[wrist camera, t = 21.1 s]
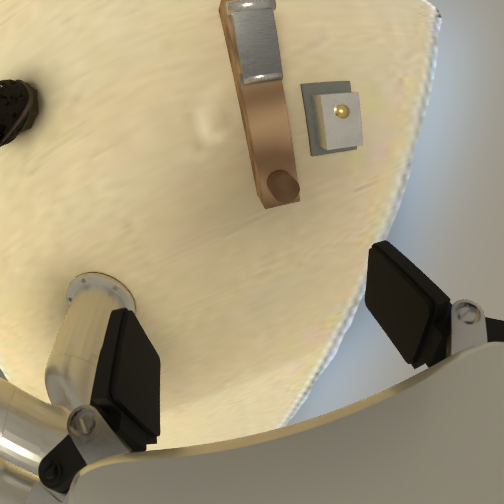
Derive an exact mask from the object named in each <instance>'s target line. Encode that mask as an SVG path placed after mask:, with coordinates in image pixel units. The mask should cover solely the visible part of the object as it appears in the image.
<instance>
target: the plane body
mask: <svg viewBox="0 0 504 504" xmlns="http://www.w3.org/2000/svg"><path fill="white" fill-rule="evenodd" d="M227 1H234V0H221V3H220V7H219V13H220V17H221V21H222V26H223V30H224V35H225V39H226V44H227V48H228V53H229V58H230V62H231V67H232V71H233V76H234V81H235V86H236V90H237V95H238V100H239V105H240V109H241V114H242V119H243V124H244V129H245V134H246V139H247V144H248V149H249V154H250V159H251V164H252V169H253V174H254V179H255V184H256V189H257V194H258V197H259V198H260V200H261V202H262V204H263V206H264V208H265V209H268V208H272V207H277V206H281V205H285V204H290V203H294V202H298V201H300V197H299V191H300V187H299V184H298V181H297V173H296V166H295V159H294V152H293V145H292V139H291V132H290V126H289V120H288V114H287V108H286V102H285V96H284V91H283V85H282V79H275V80H268V81H261V82H255V83H249V84H244V83H243V79H242V73H241V67H240V62H239V56H238V51H237V45H236V40H235V34H234V29H233V24H232V18H231V15H228V14H227V11H226V2H227Z"/></svg>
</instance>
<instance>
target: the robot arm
mask: <svg viewBox="0 0 504 504" xmlns="http://www.w3.org/2000/svg"><path fill="white" fill-rule="evenodd" d="M67 302H68V306H69V309H68V311H67V313H66V316H65V318H64V321H63V323H62V325H61V328H60V330H59V333H58V335H57V338H56V341H55V343H54V346H53V349H52V351H51V354H50V357H49V360H48V363H47V366H46V369H45V386H46V390H47V393H48V396H49V399H50V401H51V404H52V405H51V404H48V403H45V402H43V401H41V400H39V399H37V398H36V397H34V396H32V395H30V394H28V393H27V392H25V391H23V390H21V389H20V388H18V387H16V386H15V385H13V384H11V383H10V382H8V381H6V380H4V379H2V378H0V504H504V321H502V320H497V319H491V318H487V317H485V315H484V312H483V310H482V308H481V307H480V306H479V305H478V304H477V303H475V302H473V301H470V300H464V299H463V300H458V301H456V302H455V303H454V304H453V305H452V304H451V303H450V298H449V297H448V296H447V295H446V294H445V293H444V292H443V291H442V290H441V289H440V288H439V287H438V286H437V285H436V284H435V283H433V282H432V281H431V280H430V279H429V278H428V277H427V276H426V275H425V274H424V273H423V272H422V271H421V270H420V269H419V268H418V267H416V266H415V265H414V264H413V263H412V262H411V261H410V260H409V259H408V258H406V257H405V256H404V255H403V254H402V253H401V252H399V251H398V250H397V249H396V248H395V247H394V246H393V245H392V244H390V243H389V242H388V241H386V240H384V241H381V242H378V243H374V244H373V245H372V248H370V249H369V256H368V270H367V282H366V292H365V303H366V307H367V308H368V309H369V311H370V312H371V314H372V315H373V316H374V318H375V319H376V320H377V322H378V323H379V324H380V326H381V327H382V329H383V330H384V331H385V333H386V334H387V336H388V337H389V338H390V340H391V341H392V343H393V344H394V345H395V347H396V348H397V350H398V351H399V352H400V354H401V355H402V357H403V358H404V360H405V361H406V362H407V363H408V364H411V365H412V366H413V367H414V369H416V368H418V367H420V366H421V365H423V364H425V363H426V365H427V366H428V369H426V370H424V371H422V372H420V373H418V374H417V375H415V376H412V377H411V378H409V379H407V380H405V381H403V382H401V383H399V384H396V385H394V386H392V387H390V388H388V389H386V390H384V391H382V392H379V393H377V394H375V395H373V396H370V397H368V398H366V399H363V400H361V401H358V402H356V403H353V404H351V405H348V406H346V407H343V408H341V409H338V410H335V411H333V412H330V413H327V414H324V415H321V416H318V417H315V418H312V419H309V420H306V421H303V422H300V423H296V424H293V425H290V426H286V427H282V428H279V429H275V430H271V431H267V432H263V433H259V434H255V435H250V436H246V437H241V438H236V439H231V440H226V441H221V442H215V443H209V444H202V445H195V446H188V447H181V448H172V449H163V450H151V451H146V444H157V436H159V435H160V358H159V355H158V354H157V352H156V350H155V349H154V347H153V345H152V344H151V342H150V340H149V339H148V337H147V335H146V334H145V332H144V330H143V328H142V327H141V325H140V323H139V321H138V320H137V318H136V316H135V303H134V300H133V298H132V296H131V294H130V293H129V291H128V290H127V289H126V288H125V287H124V286H123V285H122V284H121V283H120V282H118V281H117V280H115V279H113V278H111V277H109V276H106V275H103V274H99V273H86V274H82V275H80V276H77V277H76V278H75V279H74V280H73V281H72V282H71V284H70V285H69V288H68V290H67ZM4 459H5V460H7V461H9V462H11V463H13V464H15V465H17V466H19V467H21V468H23V469H25V470H27V471H29V472H32V473H33V474H35V475H37V476H39V478H37V477H34V476H32V475H30V474H28V473H26V472H23V471H21V470H19V469H17V468H15V467H13V466H11V465H10V464H8V463H6V461H5V460H4Z"/></svg>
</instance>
